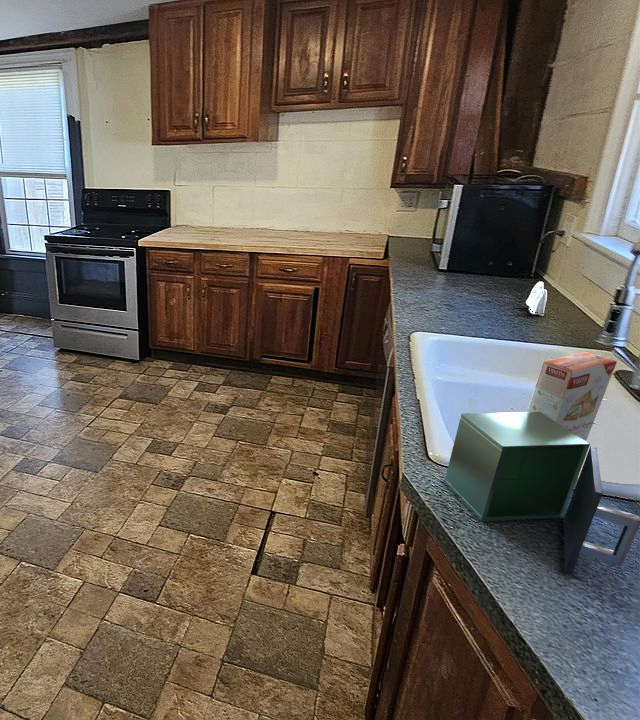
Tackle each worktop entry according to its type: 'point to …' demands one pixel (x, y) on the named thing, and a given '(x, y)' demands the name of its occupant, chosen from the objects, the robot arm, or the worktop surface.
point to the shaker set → (537, 299)
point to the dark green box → (514, 465)
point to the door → (582, 515)
